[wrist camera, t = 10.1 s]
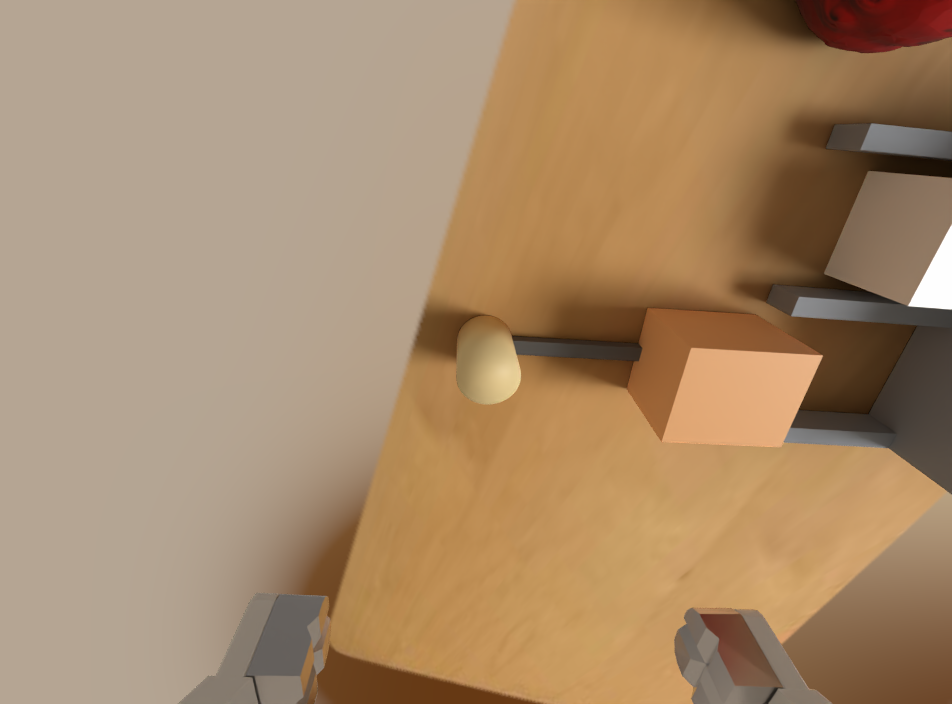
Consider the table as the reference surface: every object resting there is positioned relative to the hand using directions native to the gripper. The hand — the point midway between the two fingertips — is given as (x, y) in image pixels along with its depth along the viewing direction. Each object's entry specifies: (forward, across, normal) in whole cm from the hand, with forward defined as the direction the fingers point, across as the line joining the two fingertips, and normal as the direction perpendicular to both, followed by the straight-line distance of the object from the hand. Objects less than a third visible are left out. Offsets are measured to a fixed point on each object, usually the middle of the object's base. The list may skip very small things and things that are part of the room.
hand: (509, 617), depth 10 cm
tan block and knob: (+16, -7, 0) cm, 17 cm away
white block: (+16, -20, -7) cm, 27 cm away
